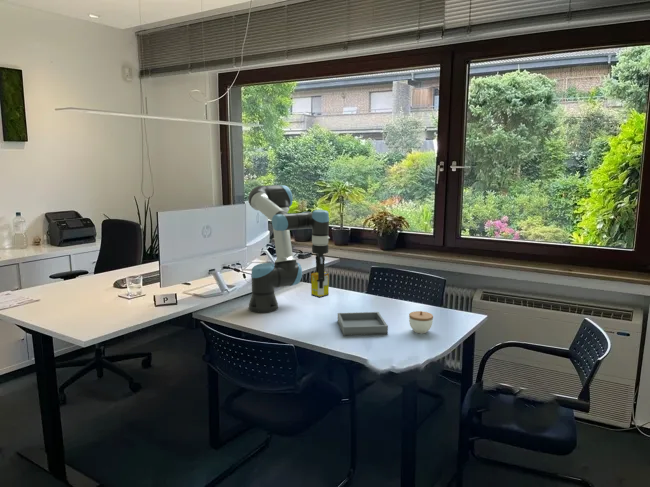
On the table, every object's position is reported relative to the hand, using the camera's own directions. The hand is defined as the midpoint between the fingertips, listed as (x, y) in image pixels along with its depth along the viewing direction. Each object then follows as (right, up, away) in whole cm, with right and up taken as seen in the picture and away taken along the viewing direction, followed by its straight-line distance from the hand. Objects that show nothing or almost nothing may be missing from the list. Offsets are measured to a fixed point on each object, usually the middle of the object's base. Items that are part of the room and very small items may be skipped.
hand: (319, 291), depth 228 cm
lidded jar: (+46, -18, -4) cm, 50 cm away
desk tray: (+19, -17, 0) cm, 26 cm away
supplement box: (0, -2, 0) cm, 2 cm away
